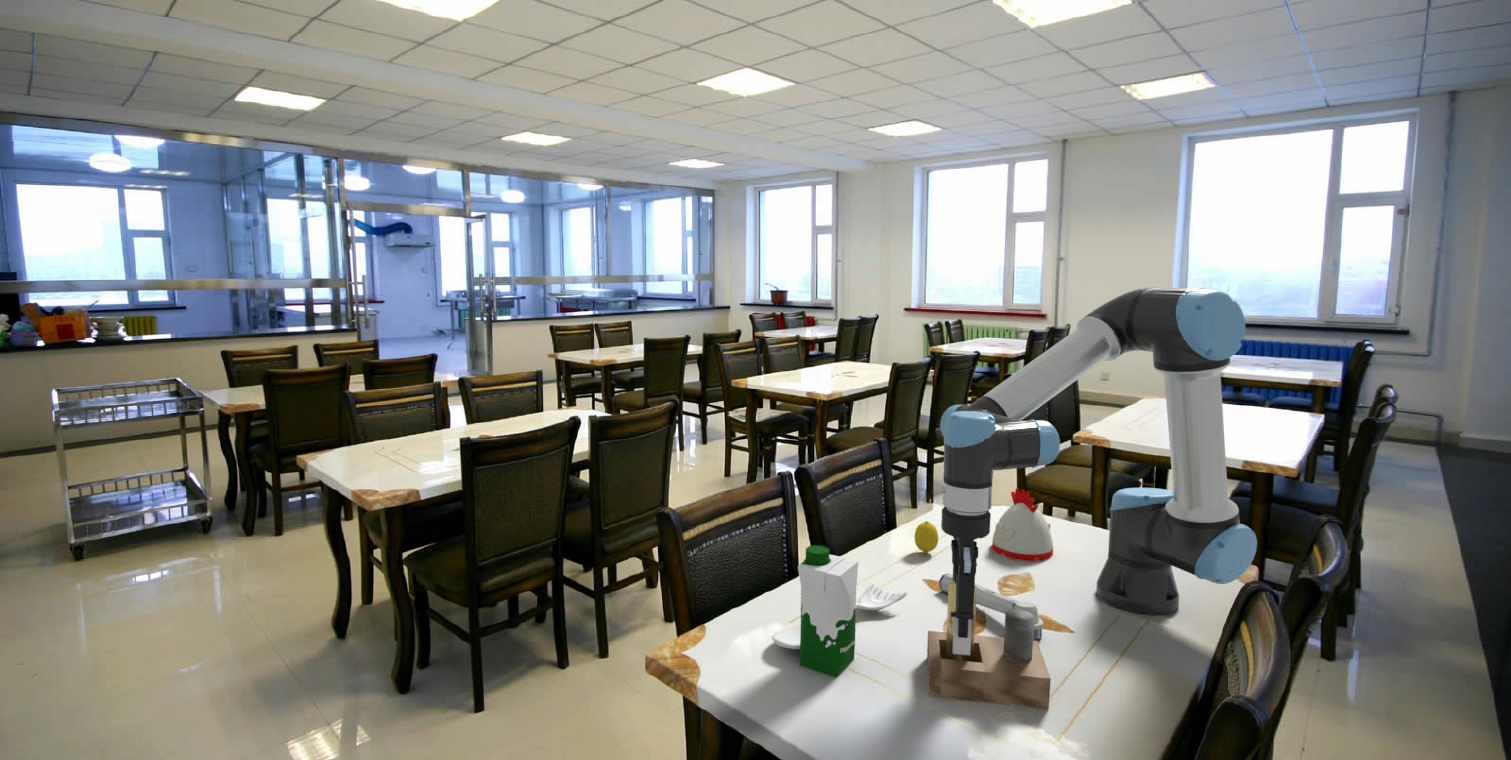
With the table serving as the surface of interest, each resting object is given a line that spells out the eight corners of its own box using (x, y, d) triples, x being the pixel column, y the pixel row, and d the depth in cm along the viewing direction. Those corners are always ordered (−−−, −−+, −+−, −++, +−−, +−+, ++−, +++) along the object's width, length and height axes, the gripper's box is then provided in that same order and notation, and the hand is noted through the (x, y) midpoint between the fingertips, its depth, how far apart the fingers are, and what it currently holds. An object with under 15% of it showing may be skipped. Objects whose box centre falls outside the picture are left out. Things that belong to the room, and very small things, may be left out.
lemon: (940, 557, 175) (941, 525, 174) (916, 557, 175) (917, 525, 174) (934, 549, 180) (935, 517, 179) (912, 549, 180) (913, 517, 179)
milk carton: (815, 645, 134) (817, 538, 131) (861, 658, 129) (864, 548, 126) (791, 666, 126) (792, 554, 123) (840, 681, 122) (842, 565, 119)
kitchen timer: (1023, 537, 189) (1026, 480, 187) (1065, 555, 176) (1069, 494, 174) (980, 545, 183) (982, 486, 181) (1020, 564, 171) (1024, 502, 169)
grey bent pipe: (954, 570, 158) (1048, 600, 136) (956, 601, 158) (1050, 636, 136) (935, 574, 156) (1028, 605, 133) (937, 606, 156) (1030, 642, 133)
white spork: (909, 606, 148) (908, 589, 147) (798, 663, 126) (797, 644, 126) (872, 596, 154) (872, 580, 154) (762, 648, 132) (761, 629, 132)
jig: (1035, 668, 126) (1039, 601, 124) (1048, 708, 114) (1053, 635, 112) (927, 657, 129) (929, 592, 127) (928, 695, 118) (931, 624, 116)
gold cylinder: (972, 649, 123) (975, 581, 122) (974, 663, 119) (977, 592, 118) (945, 646, 124) (947, 579, 123) (946, 660, 120) (949, 589, 118)
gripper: (939, 491, 127) (934, 619, 131) (944, 524, 111) (938, 670, 114) (985, 494, 126) (978, 623, 129) (997, 528, 109) (989, 676, 112)
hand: (960, 645), depth 122 cm, fingers closed on gold cylinder, 4 cm apart
